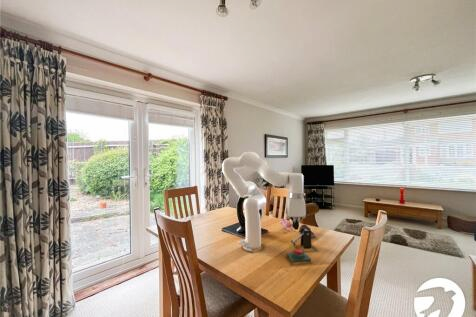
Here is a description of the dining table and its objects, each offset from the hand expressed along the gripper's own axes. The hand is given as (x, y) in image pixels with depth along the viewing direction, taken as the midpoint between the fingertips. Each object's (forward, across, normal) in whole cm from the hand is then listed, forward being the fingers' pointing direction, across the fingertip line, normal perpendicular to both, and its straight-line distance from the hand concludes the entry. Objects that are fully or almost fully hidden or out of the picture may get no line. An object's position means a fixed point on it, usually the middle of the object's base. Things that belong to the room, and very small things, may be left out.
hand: (295, 228), depth 110 cm
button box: (+16, -1, +2) cm, 17 cm away
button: (+13, -1, +2) cm, 13 cm away
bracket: (+16, -11, -10) cm, 22 cm away
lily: (+17, -10, -39) cm, 44 cm away
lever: (+10, -8, -10) cm, 16 cm away
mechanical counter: (+17, -20, -27) cm, 37 cm away
